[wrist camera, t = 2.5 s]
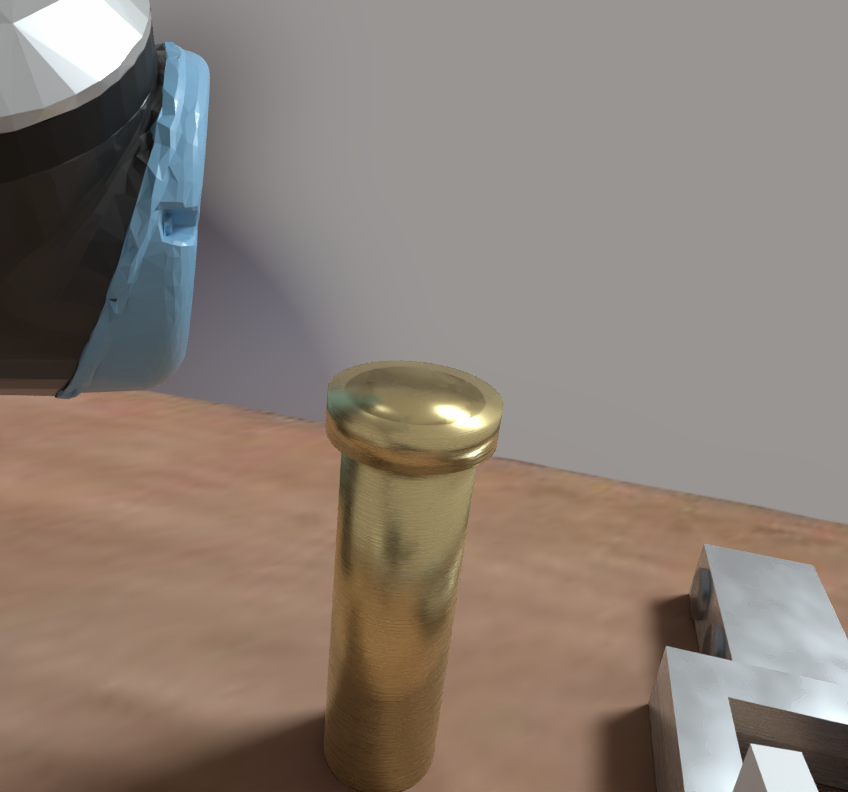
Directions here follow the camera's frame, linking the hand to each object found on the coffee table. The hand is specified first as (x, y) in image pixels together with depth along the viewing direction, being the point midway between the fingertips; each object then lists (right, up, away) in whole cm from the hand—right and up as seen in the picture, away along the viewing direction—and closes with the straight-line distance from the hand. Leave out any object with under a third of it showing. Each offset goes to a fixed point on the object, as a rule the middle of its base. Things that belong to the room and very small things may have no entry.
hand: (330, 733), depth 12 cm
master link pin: (0, -7, +14) cm, 16 cm away
